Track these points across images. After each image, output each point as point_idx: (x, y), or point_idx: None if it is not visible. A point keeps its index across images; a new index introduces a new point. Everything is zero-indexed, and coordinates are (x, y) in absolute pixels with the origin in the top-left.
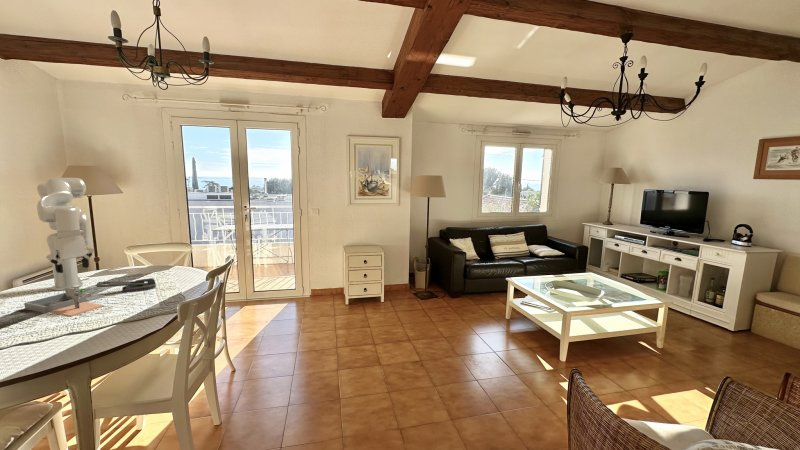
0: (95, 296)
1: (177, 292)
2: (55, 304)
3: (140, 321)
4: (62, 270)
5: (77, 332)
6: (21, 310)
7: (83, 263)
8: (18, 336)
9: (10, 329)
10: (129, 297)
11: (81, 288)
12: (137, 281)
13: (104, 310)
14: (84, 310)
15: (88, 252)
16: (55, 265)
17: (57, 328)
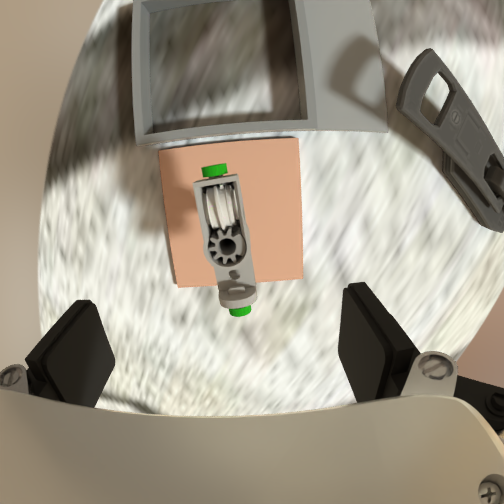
0: (360, 110)
1: (463, 341)
2: (175, 139)
3: None
4: (104, 379)
5: (150, 412)
6: (128, 18)
7: (358, 337)
8: (56, 318)
9: (45, 235)
10: (408, 252)
11: (239, 300)
12: (500, 189)
13: (273, 325)
14: None
15: (502, 438)
16: (31, 374)
17: (124, 353)
